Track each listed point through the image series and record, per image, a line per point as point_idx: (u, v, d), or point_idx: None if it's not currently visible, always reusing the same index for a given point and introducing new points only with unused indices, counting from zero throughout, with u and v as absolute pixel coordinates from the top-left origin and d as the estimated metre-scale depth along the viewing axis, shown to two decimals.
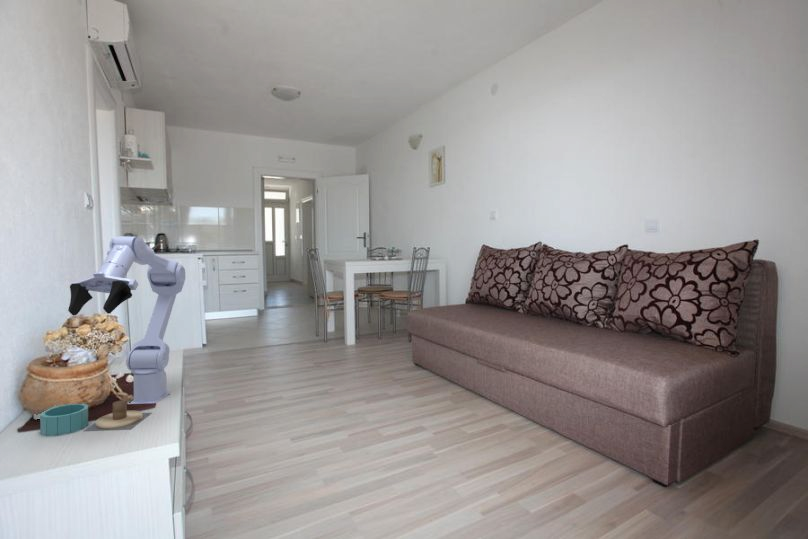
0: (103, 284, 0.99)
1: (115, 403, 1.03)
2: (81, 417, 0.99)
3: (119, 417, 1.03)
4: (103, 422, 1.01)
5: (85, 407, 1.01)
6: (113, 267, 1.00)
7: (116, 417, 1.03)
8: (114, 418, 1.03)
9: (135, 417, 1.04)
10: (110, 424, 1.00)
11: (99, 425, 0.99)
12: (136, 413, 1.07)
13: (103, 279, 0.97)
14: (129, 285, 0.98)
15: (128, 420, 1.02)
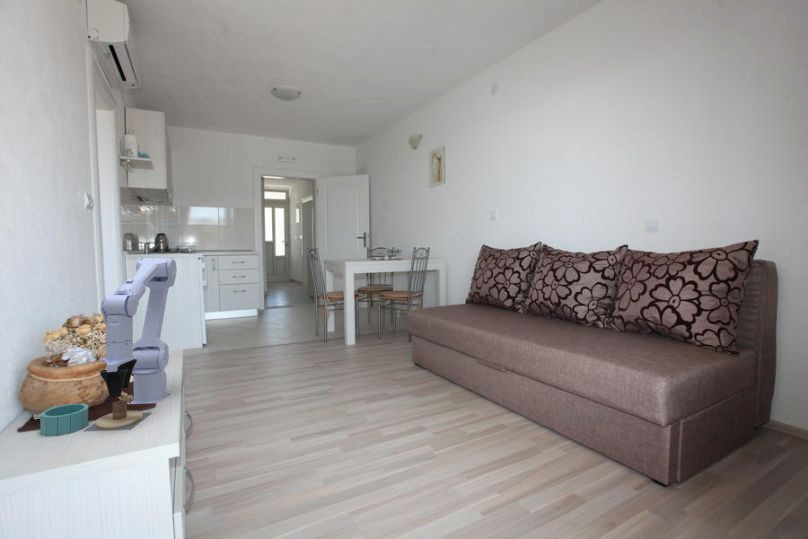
0: None
1: (115, 403, 1.03)
2: (81, 417, 0.99)
3: (119, 417, 1.03)
4: (103, 422, 1.01)
5: (85, 407, 1.01)
6: (106, 347, 1.01)
7: (116, 417, 1.03)
8: (114, 418, 1.03)
9: (135, 417, 1.04)
10: (110, 424, 1.00)
11: (99, 425, 0.99)
12: (136, 413, 1.07)
13: None
14: None
15: (128, 420, 1.02)
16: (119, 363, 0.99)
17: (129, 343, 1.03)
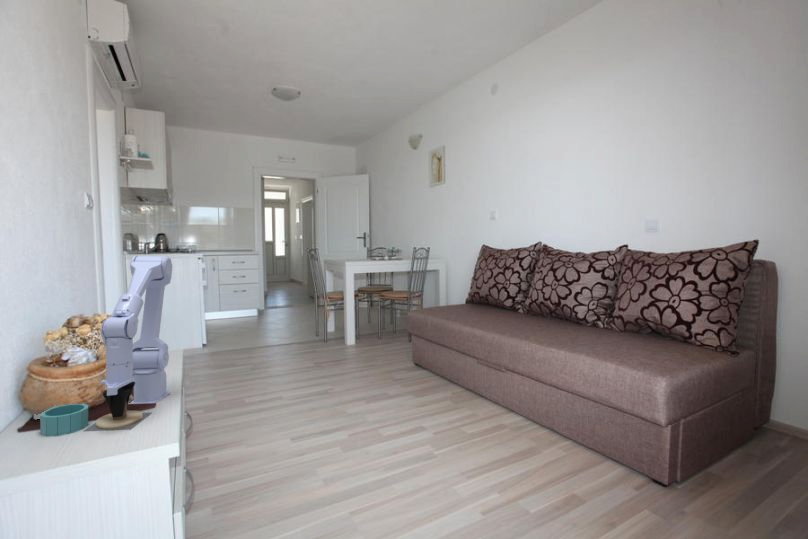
0: None
1: None
2: (81, 417, 0.99)
3: (119, 417, 1.03)
4: (103, 422, 1.01)
5: (85, 407, 1.01)
6: (106, 370, 1.01)
7: (116, 417, 1.03)
8: (114, 418, 1.03)
9: (135, 417, 1.04)
10: (110, 424, 1.00)
11: (99, 425, 0.99)
12: (136, 413, 1.07)
13: None
14: None
15: (128, 420, 1.02)
16: (119, 386, 0.99)
17: (129, 365, 1.03)
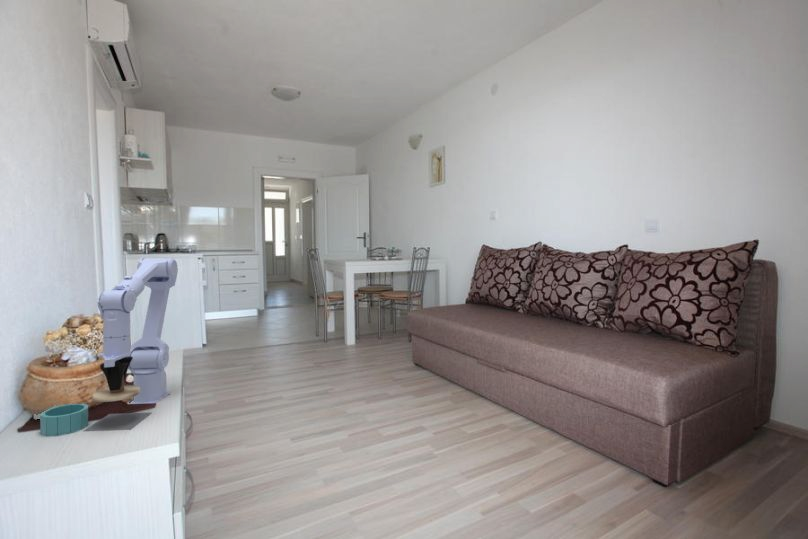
0: None
1: None
2: (81, 417, 0.99)
3: (116, 390, 1.02)
4: (100, 395, 1.00)
5: (85, 407, 1.01)
6: (104, 342, 1.01)
7: (113, 390, 1.02)
8: (111, 391, 1.02)
9: (133, 391, 1.04)
10: (108, 397, 0.99)
11: (96, 398, 0.99)
12: (134, 387, 1.07)
13: None
14: None
15: (126, 393, 1.02)
16: (116, 358, 0.99)
17: (126, 338, 1.03)
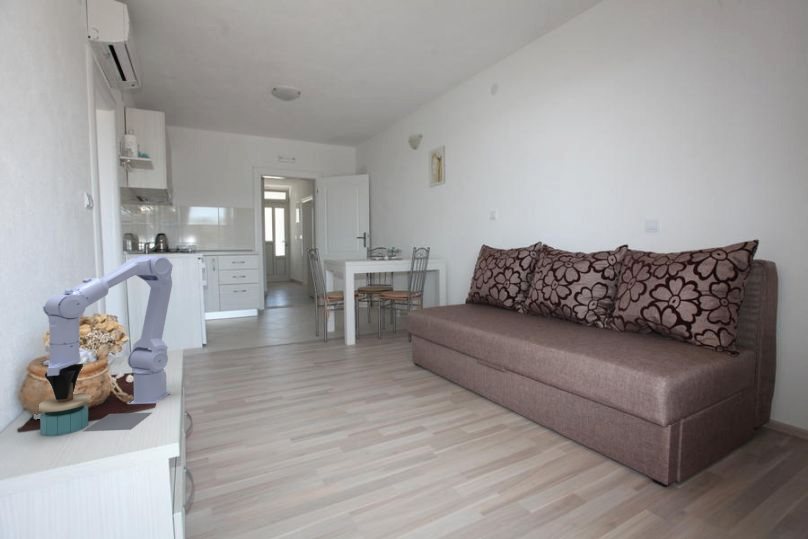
0: None
1: None
2: (81, 417, 0.99)
3: (64, 399, 0.98)
4: (46, 405, 0.96)
5: (85, 407, 1.01)
6: (50, 350, 0.97)
7: (61, 399, 0.98)
8: (59, 401, 0.98)
9: (82, 399, 1.00)
10: (53, 407, 0.95)
11: (41, 408, 0.95)
12: (85, 395, 1.02)
13: None
14: None
15: (73, 402, 0.98)
16: (62, 366, 0.95)
17: (74, 345, 0.99)
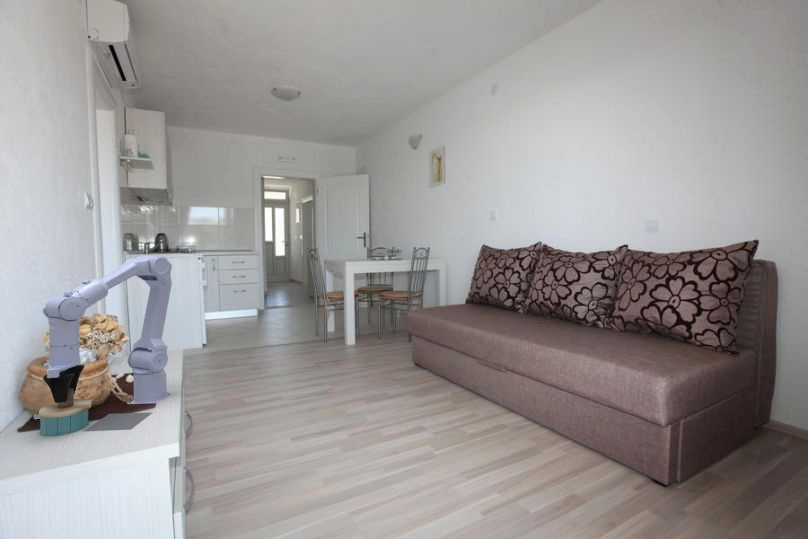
0: None
1: None
2: (81, 417, 0.99)
3: (64, 405, 0.98)
4: (47, 410, 0.96)
5: None
6: (50, 352, 0.97)
7: (61, 405, 0.98)
8: (59, 406, 0.98)
9: (82, 406, 1.00)
10: (53, 413, 0.95)
11: (42, 413, 0.95)
12: (85, 401, 1.03)
13: None
14: None
15: (74, 408, 0.98)
16: (62, 368, 0.95)
17: (74, 347, 0.99)
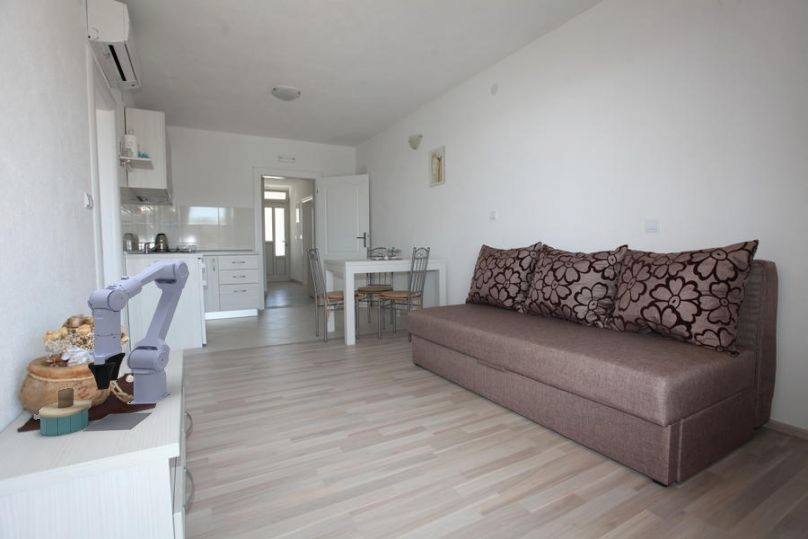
0: None
1: (61, 391, 0.99)
2: (81, 417, 0.99)
3: (64, 405, 0.98)
4: (47, 410, 0.96)
5: None
6: (94, 340, 1.03)
7: (61, 405, 0.98)
8: (59, 406, 0.98)
9: (82, 406, 1.00)
10: (53, 413, 0.95)
11: (42, 413, 0.95)
12: (85, 401, 1.03)
13: None
14: None
15: (74, 408, 0.98)
16: (107, 356, 1.01)
17: (117, 337, 1.05)
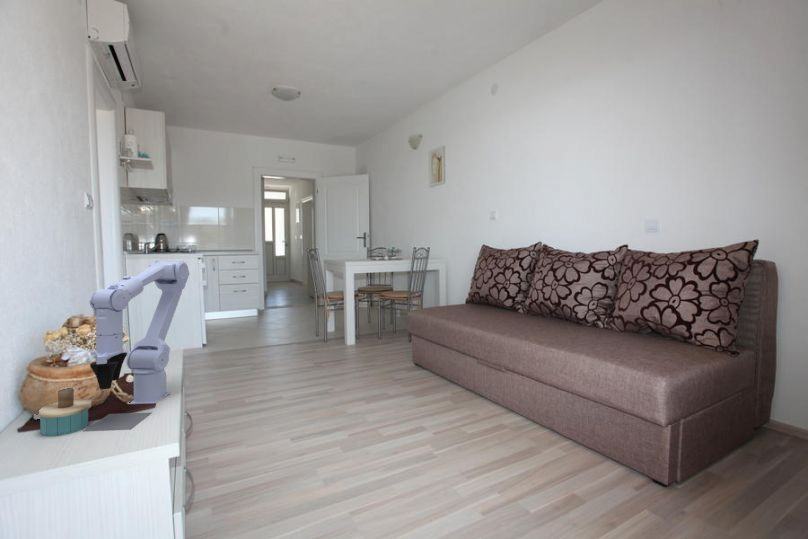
0: None
1: (61, 391, 0.99)
2: (81, 417, 0.99)
3: (64, 405, 0.98)
4: (47, 410, 0.96)
5: None
6: (96, 340, 1.04)
7: (61, 405, 0.98)
8: (59, 406, 0.98)
9: (82, 406, 1.00)
10: (53, 413, 0.95)
11: (42, 413, 0.95)
12: (85, 401, 1.03)
13: None
14: None
15: (74, 408, 0.98)
16: (109, 356, 1.01)
17: (119, 336, 1.06)
